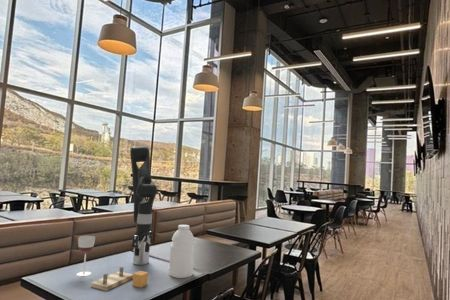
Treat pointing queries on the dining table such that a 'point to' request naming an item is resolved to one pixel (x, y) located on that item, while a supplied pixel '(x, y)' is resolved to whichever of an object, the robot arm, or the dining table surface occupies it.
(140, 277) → the wooden toy cube
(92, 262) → the dining table surface
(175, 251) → the bottle
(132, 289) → the dining table surface
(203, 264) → the dining table surface
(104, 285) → the wooden peg rack
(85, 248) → the wineglass
